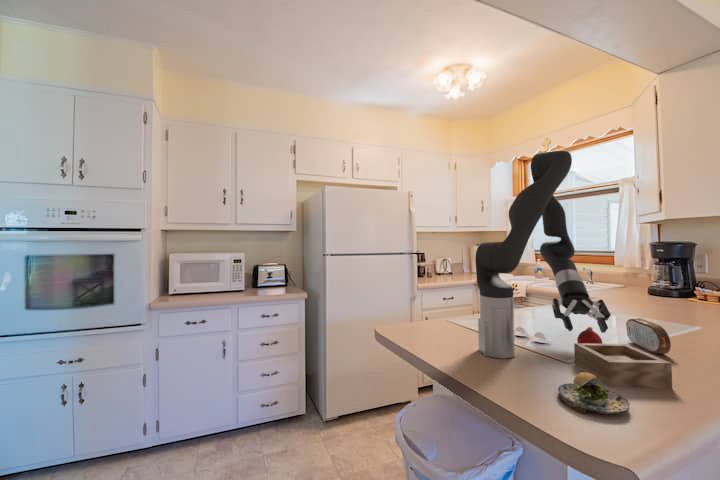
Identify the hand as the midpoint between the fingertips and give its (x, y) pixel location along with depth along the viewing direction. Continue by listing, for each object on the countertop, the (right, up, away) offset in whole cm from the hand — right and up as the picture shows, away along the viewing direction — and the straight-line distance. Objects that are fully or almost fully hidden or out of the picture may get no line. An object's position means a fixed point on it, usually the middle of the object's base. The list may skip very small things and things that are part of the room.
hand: (587, 330), depth 90 cm
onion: (0, -7, -1) cm, 7 cm away
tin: (+20, -7, +3) cm, 21 cm away
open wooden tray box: (-3, -7, -15) cm, 17 cm away
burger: (-20, -7, -28) cm, 35 cm away
